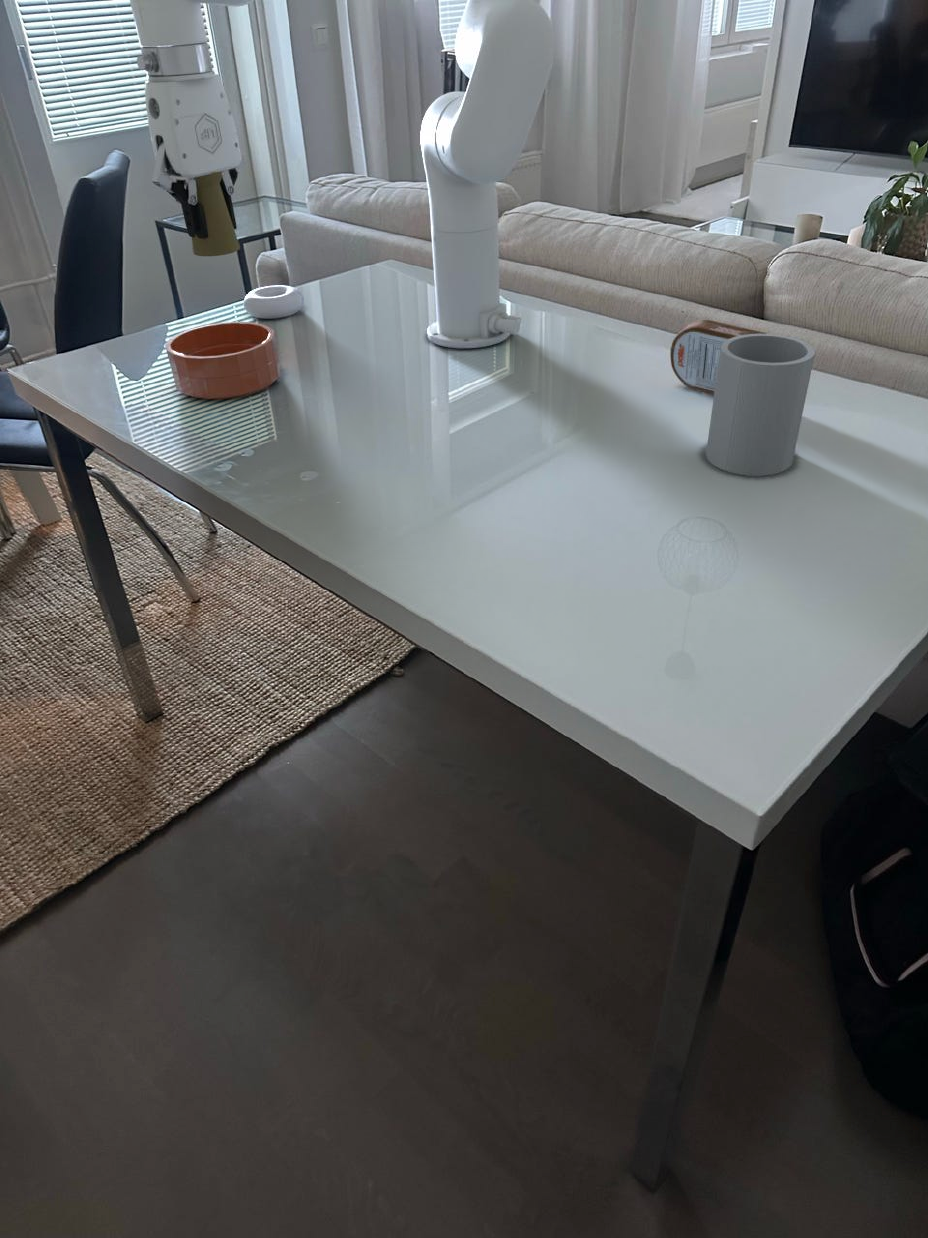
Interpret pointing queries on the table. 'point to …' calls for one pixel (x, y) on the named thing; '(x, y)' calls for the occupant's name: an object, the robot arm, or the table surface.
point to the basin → (224, 360)
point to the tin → (701, 352)
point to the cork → (214, 219)
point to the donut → (273, 302)
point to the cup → (758, 403)
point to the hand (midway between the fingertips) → (212, 231)
